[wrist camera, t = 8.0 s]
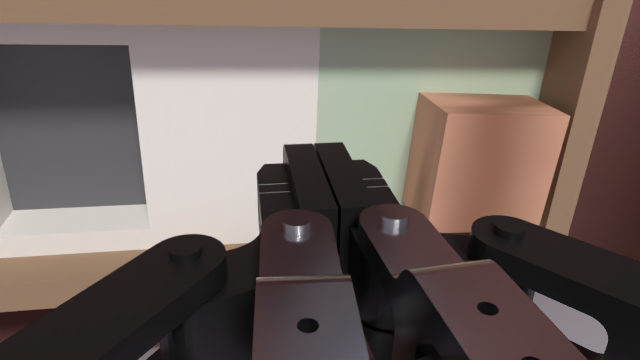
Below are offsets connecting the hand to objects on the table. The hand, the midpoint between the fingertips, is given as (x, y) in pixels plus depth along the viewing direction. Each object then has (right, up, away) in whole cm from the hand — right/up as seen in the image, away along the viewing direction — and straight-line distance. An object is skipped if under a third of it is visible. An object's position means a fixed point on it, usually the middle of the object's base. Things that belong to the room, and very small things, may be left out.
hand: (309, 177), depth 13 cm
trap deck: (-5, +2, +10) cm, 11 cm away
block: (+7, +1, +10) cm, 12 cm away
